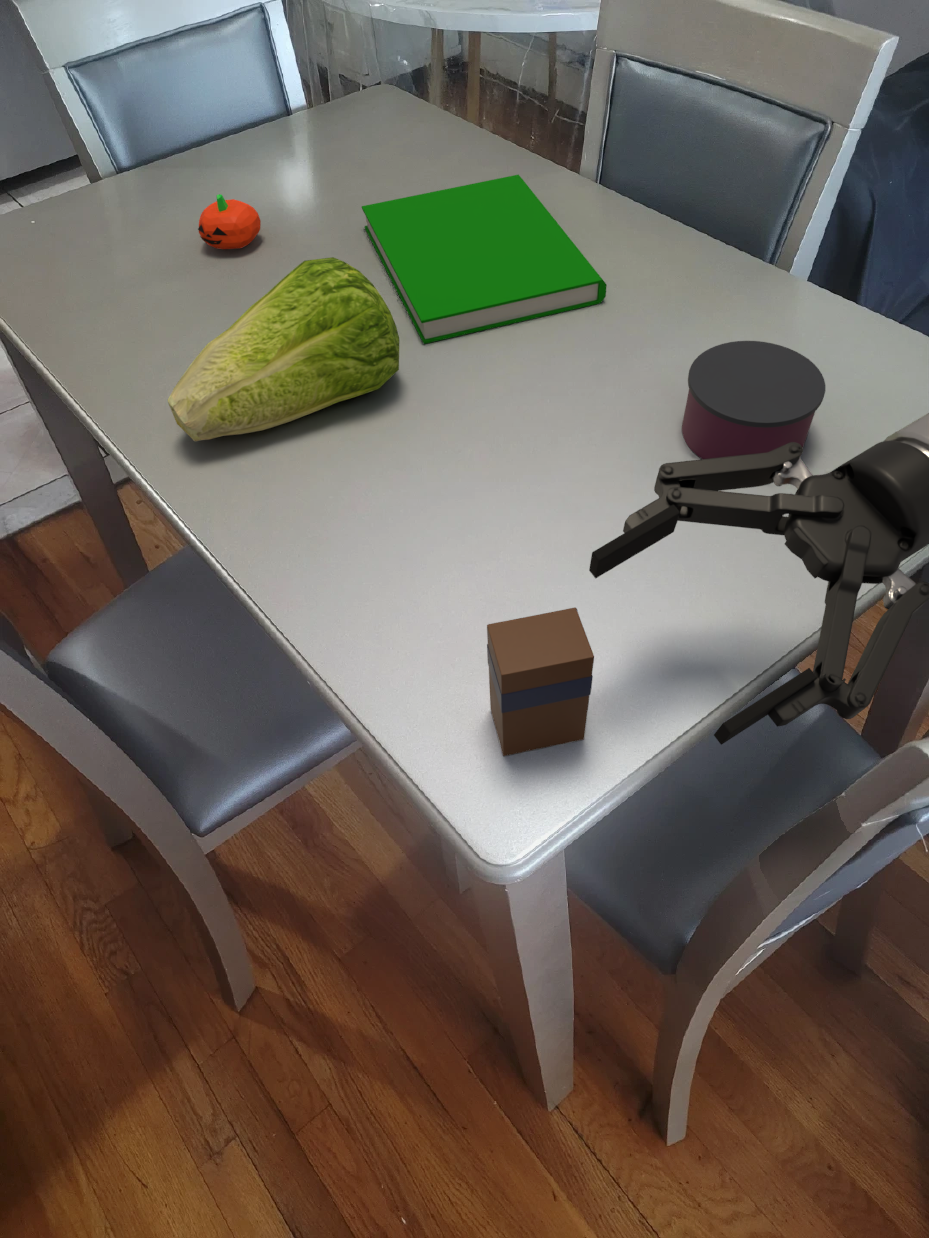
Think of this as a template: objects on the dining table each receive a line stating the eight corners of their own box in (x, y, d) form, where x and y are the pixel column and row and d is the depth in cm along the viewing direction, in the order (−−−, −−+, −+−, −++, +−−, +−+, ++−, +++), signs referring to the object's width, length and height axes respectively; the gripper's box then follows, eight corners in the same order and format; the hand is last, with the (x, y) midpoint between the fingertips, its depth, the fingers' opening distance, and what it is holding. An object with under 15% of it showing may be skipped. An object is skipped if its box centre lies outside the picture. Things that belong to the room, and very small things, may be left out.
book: (423, 344, 99) (421, 320, 97) (364, 228, 116) (361, 206, 113) (605, 302, 102) (607, 278, 100) (522, 196, 119) (522, 173, 117)
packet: (568, 692, 69) (576, 606, 60) (585, 740, 66) (595, 657, 58) (489, 708, 68) (485, 623, 60) (502, 757, 66) (500, 676, 57)
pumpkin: (265, 254, 113) (253, 205, 108) (203, 261, 112) (188, 212, 107) (265, 227, 117) (254, 179, 112) (206, 233, 117) (192, 185, 112)
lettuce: (232, 505, 88) (183, 439, 97) (427, 383, 93) (363, 330, 101) (163, 397, 77) (114, 333, 86) (388, 264, 82) (320, 217, 90)
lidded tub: (833, 432, 86) (852, 379, 81) (755, 494, 82) (771, 441, 77) (730, 377, 93) (743, 325, 88) (652, 432, 88) (661, 380, 83)
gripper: (1022, 652, 57) (766, 824, 54) (777, 395, 66) (545, 529, 63) (1091, 607, 50) (801, 802, 47) (807, 327, 59) (548, 474, 56)
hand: (654, 646), depth 55 cm, fingers open, 13 cm apart
